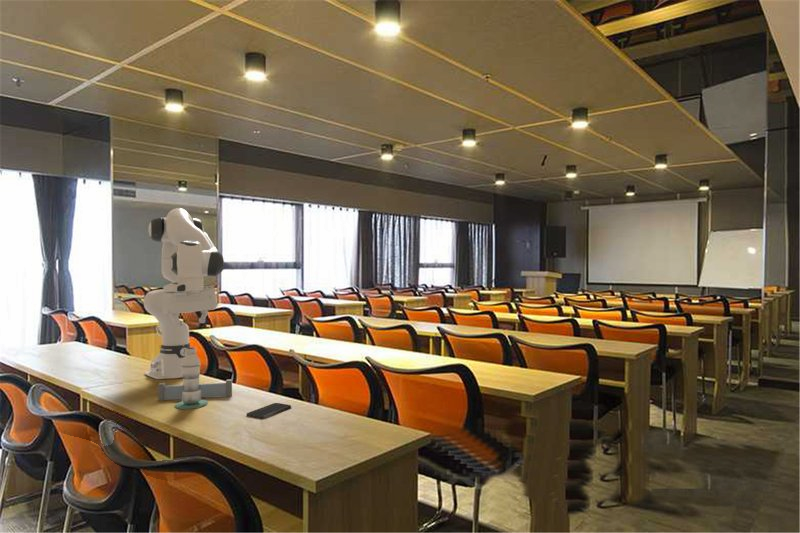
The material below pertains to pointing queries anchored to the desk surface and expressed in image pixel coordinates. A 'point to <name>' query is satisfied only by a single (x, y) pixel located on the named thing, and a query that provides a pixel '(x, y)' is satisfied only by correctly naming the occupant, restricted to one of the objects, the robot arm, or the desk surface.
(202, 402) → the mat
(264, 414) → the phone
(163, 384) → the low wall
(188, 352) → the plastic bottle
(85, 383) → the desk surface
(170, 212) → the robot arm
